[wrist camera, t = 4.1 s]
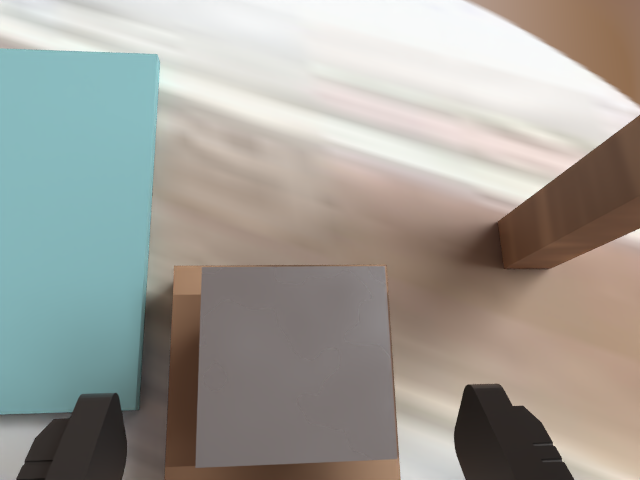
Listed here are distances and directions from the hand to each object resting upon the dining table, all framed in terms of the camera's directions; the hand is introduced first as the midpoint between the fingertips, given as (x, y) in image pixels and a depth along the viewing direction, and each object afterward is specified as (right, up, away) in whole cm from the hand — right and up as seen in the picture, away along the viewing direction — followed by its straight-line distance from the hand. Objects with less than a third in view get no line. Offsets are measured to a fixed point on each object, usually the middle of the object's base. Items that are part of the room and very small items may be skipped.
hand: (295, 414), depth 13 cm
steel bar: (-1, -1, +7) cm, 7 cm away
